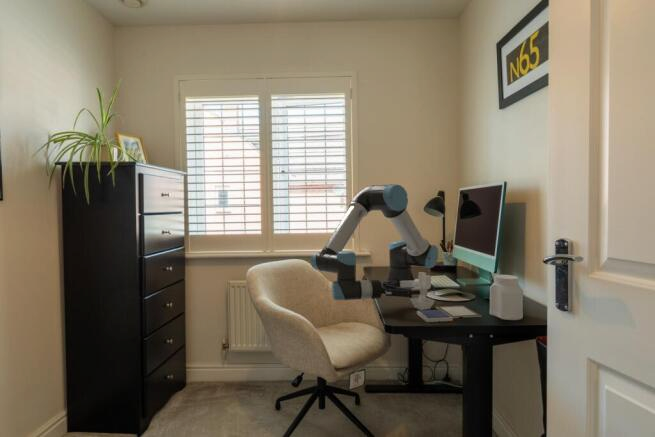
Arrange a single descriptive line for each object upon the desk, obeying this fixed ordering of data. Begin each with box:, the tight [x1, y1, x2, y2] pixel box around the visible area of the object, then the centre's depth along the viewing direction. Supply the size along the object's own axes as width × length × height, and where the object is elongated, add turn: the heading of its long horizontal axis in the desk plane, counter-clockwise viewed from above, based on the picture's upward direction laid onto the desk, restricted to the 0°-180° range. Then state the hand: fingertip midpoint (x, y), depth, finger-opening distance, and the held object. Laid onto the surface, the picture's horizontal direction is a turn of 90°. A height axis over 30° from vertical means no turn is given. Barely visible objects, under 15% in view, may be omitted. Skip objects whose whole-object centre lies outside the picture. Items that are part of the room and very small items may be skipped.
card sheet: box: [435, 304, 483, 319], centre depth 143 cm, size 14×12×1 cm
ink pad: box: [416, 309, 454, 323], centre depth 136 cm, size 10×10×2 cm
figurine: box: [409, 271, 436, 311], centre depth 148 cm, size 7×9×15 cm
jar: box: [489, 274, 524, 321], centre depth 137 cm, size 12×10×15 cm
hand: (420, 287), depth 147 cm, fingers open, 13 cm apart
